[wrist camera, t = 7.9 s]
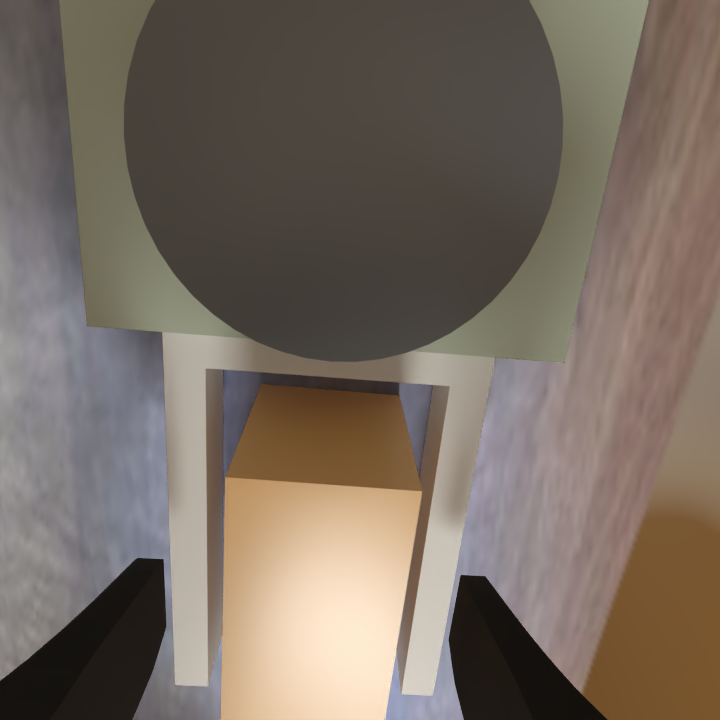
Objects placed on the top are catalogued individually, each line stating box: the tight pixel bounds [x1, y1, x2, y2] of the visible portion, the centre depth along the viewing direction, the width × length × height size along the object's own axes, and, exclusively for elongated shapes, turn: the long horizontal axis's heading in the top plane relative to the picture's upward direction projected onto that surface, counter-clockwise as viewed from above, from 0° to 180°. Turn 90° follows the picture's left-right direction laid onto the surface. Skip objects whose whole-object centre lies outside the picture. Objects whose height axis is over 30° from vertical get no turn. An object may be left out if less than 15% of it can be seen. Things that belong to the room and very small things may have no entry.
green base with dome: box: [59, 0, 649, 695], centre depth 13 cm, size 20×11×5 cm, turn 175°
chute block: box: [221, 384, 422, 720], centre depth 14 cm, size 8×4×5 cm, turn 174°
